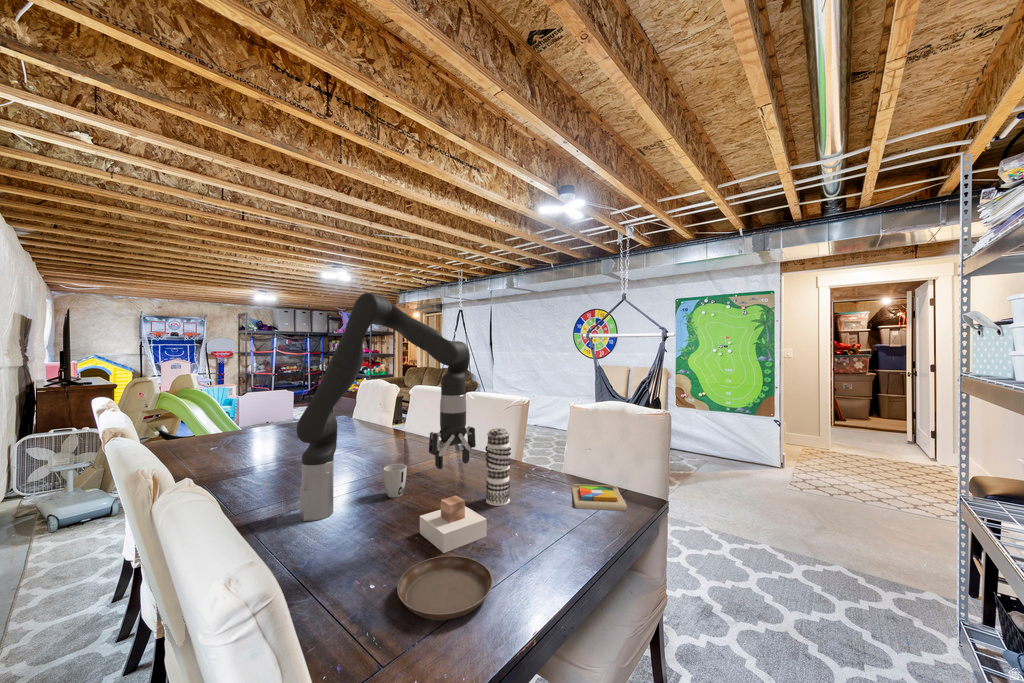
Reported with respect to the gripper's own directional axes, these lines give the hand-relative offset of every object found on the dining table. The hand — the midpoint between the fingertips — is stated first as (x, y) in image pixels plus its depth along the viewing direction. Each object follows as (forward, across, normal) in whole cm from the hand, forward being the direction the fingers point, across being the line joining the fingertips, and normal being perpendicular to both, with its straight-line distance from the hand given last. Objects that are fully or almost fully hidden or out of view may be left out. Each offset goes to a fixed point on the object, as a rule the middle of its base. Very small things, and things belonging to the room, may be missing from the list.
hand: (452, 465), depth 112 cm
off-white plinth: (+20, 0, 0) cm, 20 cm away
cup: (+20, -1, +39) cm, 44 cm away
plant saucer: (+20, -15, -22) cm, 34 cm away
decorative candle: (+20, +25, +11) cm, 34 cm away
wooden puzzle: (+21, +54, -10) cm, 59 cm away
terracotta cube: (+15, 0, 0) cm, 15 cm away
